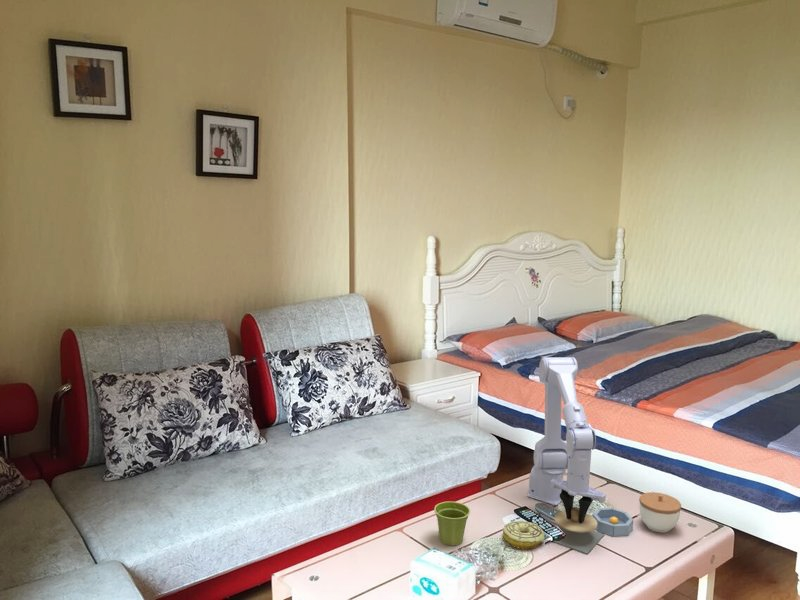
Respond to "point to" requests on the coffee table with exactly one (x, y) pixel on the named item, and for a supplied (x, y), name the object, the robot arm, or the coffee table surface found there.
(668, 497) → the lidded jar
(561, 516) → the lid
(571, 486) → the robot arm
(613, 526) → the bowl
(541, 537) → the decorated donut
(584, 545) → the mat
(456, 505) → the plant pot
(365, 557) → the coffee table surface
